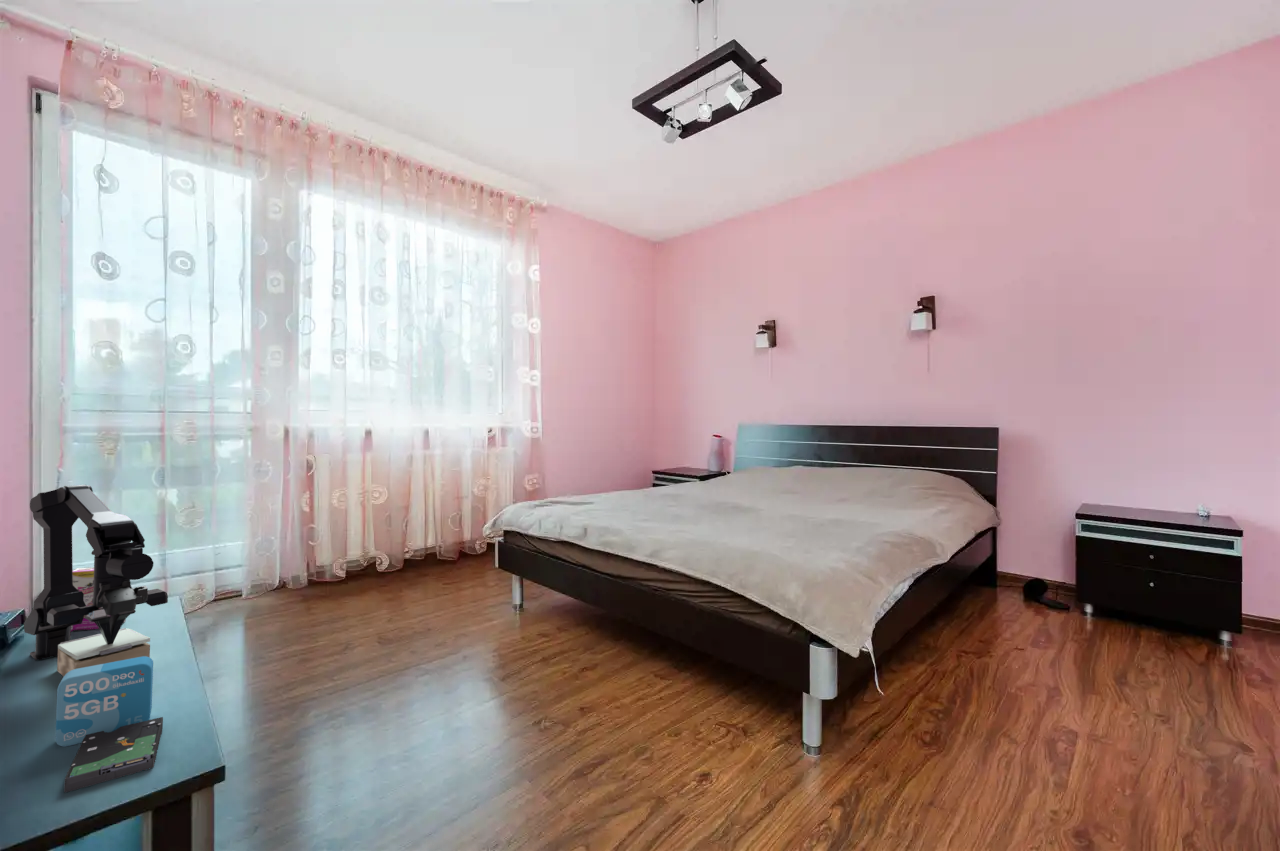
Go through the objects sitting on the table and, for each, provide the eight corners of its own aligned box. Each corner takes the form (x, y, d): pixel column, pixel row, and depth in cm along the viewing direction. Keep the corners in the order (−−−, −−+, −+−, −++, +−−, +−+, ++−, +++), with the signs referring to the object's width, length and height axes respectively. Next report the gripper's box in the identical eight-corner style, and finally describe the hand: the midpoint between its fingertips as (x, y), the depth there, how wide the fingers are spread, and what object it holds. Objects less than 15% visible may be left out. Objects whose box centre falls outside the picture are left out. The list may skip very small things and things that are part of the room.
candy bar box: (63, 633, 141) (65, 572, 141) (73, 627, 145) (75, 567, 146) (118, 627, 146) (120, 568, 146) (126, 621, 150) (128, 564, 150)
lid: (56, 647, 120) (56, 643, 120) (127, 631, 130) (127, 627, 130) (78, 660, 112) (78, 656, 112) (152, 642, 122) (152, 637, 122)
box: (57, 670, 119) (57, 648, 119) (128, 652, 130) (128, 632, 130) (75, 687, 112) (76, 663, 112) (149, 666, 123) (150, 644, 123)
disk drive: (82, 751, 91) (63, 796, 80) (83, 734, 92) (63, 778, 80) (163, 730, 98) (155, 770, 86) (163, 715, 98) (156, 752, 86)
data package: (54, 750, 91) (57, 680, 91) (60, 738, 94) (62, 670, 94) (149, 726, 98) (151, 661, 98) (151, 716, 102) (153, 653, 102)
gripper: (62, 590, 108) (60, 667, 107) (177, 571, 124) (176, 637, 123) (47, 582, 113) (45, 655, 113) (159, 565, 129) (157, 628, 129)
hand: (109, 643), depth 119 cm, fingers closed, pressing on lid
